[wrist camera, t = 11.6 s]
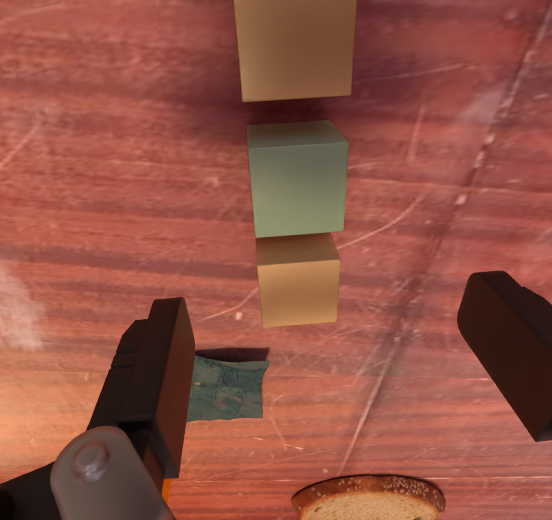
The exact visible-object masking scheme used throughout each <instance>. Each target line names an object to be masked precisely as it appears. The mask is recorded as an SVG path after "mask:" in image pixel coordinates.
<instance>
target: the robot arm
mask: <svg viewBox="0 0 552 520" xmlns="http://www.w3.org/2000/svg"><path fill="white" fill-rule="evenodd" d="M457 322H458V327H459V330H460V333H461V335H462V336H463V338H464V339H465V341H466V342H467V343H468V345H469V346H470V348H471V349H472V351H473V352H474V354H475V355H476V357H477V358H478V359H479V361H480V362H481V364H482V365H483V367H484V368H485V370H486V371H487V372H488V374H489V375H490V377H491V378H492V380H493V381H494V383H495V384H496V385H497V387H498V388H499V390H500V391H501V393H502V394H503V396H504V397H505V398H506V400H507V401H508V403H509V404H510V406H511V407H512V409H513V410H514V411H515V413H516V414H517V416H518V417H519V419H520V420H521V422H522V423H523V424H524V426H525V427H526V429H527V430H528V432H529V433H530V435H531V436H532V438H533V439H534V440H535V442H539V441H548V440H552V305H551V304H550V303H549V302H548V301H547V300H546V299H545V298H543V297H541V296H540V295H538V294H536V293H534V292H532V291H531V290H529V289H527V288H525V287H521V286H520V285H519V284H518V283H517V282H516V281H515V280H514V279H513V278H512V277H511V276H510V275H509V274H508V273H506V272H505V271H489V272H477V273H473V274H471V275H470V277H469V279H468V282H467V285H466V288H465V292H464V295H463V298H462V301H461V304H460V308H459V311H458V315H457ZM194 361H195V341H194V335H193V331H192V327H191V323H190V319H189V315H188V311H187V306H186V303H185V300H184V298H183V297H177V298H166V299H155V300H154V302H153V304H152V307H151V310H150V314H149V317H148V319H143V320H135V321H134V323H133V324H132V325H131V326H130V327H129V328H128V329H127V330H126V332H125V333H124V334H123V335H122V337H121V340H120V343H119V345H118V348H117V351H116V355H115V356H114V359H113V361H112V364H111V369H109V372H108V375H107V377H106V380H105V383H104V385H103V388H102V391H101V393H100V396H99V399H98V401H97V404H96V407H95V409H94V412H93V415H92V417H91V420H90V423H89V425H88V427H87V429H86V431H85V432H84V433H82V434H80V435H79V436H77V437H76V438H74V439H73V440H72V441H71V442H70V443H69V444H67V446H66V447H65V448H64V449H63V450H62V451H61V453H60V454H59V456H58V457H57V459H56V461H54V462H52V463H50V464H48V465H46V466H44V467H41V468H39V469H36V470H34V471H32V472H29V473H27V474H24V475H22V476H19V477H17V478H14V479H12V480H9V481H7V482H4V483H2V484H0V520H176V519H175V517H174V515H173V514H172V512H171V510H170V509H169V507H168V505H167V504H166V502H165V500H164V498H163V497H162V490H163V484H164V479H171V478H179V470H180V463H181V456H182V448H183V441H184V434H185V427H186V419H187V412H188V405H189V398H190V390H191V383H192V376H193V369H194Z"/></svg>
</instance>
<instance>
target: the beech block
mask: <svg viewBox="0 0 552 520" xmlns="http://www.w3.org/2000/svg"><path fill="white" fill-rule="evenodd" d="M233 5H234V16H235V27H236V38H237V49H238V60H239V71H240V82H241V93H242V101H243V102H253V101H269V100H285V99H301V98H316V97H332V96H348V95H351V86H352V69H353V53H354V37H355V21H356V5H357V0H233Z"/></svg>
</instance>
